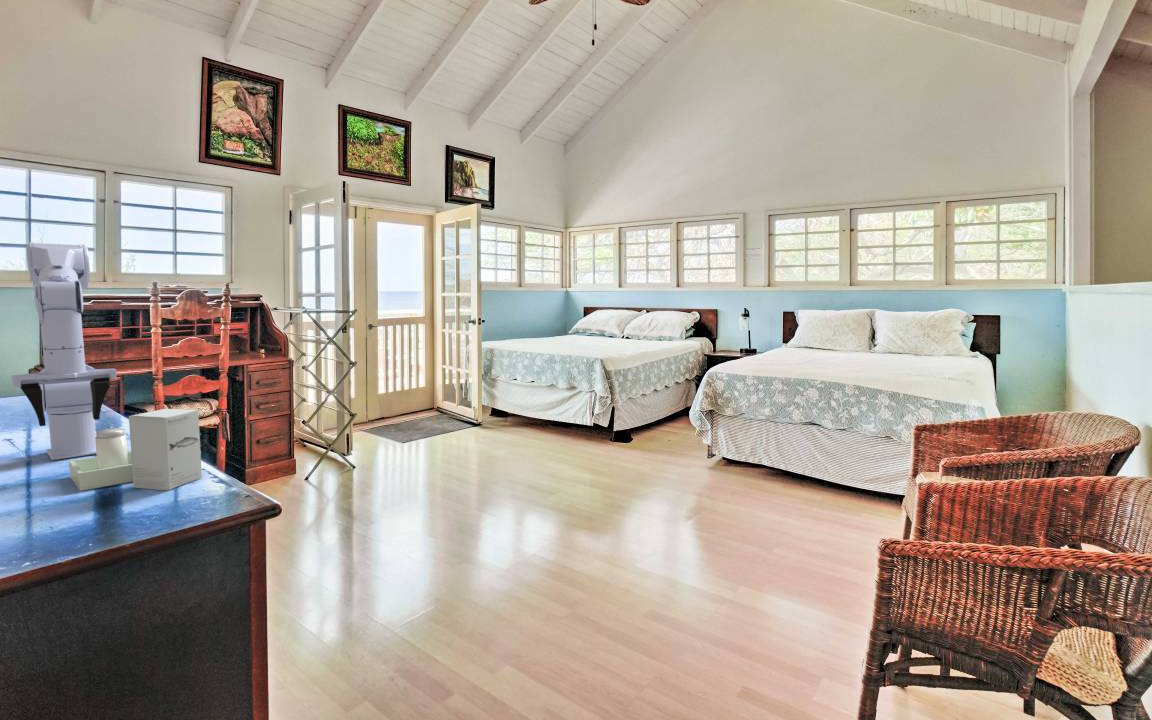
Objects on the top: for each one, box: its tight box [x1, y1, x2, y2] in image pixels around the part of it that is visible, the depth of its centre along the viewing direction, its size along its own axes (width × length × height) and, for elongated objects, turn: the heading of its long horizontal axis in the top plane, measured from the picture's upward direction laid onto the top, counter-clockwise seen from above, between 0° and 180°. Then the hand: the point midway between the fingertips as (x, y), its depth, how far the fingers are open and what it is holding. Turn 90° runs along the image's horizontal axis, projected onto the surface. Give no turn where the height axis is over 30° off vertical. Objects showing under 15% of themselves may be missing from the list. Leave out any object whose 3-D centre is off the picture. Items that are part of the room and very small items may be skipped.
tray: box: [68, 451, 133, 492], centre depth 110 cm, size 11×11×3 cm
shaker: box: [95, 427, 128, 469], centre depth 109 cm, size 4×4×8 cm
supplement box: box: [128, 408, 203, 491], centre depth 106 cm, size 7×7×13 cm
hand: (70, 421), depth 112 cm, fingers open, 7 cm apart
